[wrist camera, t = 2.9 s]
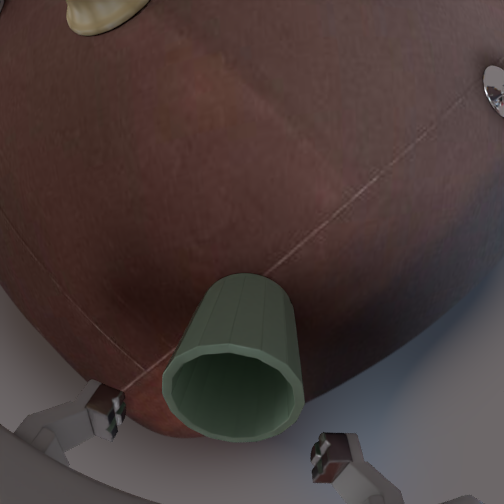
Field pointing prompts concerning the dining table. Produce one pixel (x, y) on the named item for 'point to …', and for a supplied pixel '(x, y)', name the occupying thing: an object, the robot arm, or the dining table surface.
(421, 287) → the dining table surface
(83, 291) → the dining table surface
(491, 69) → the wineglass
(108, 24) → the hand bell
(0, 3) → the cup
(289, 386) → the sage cup
